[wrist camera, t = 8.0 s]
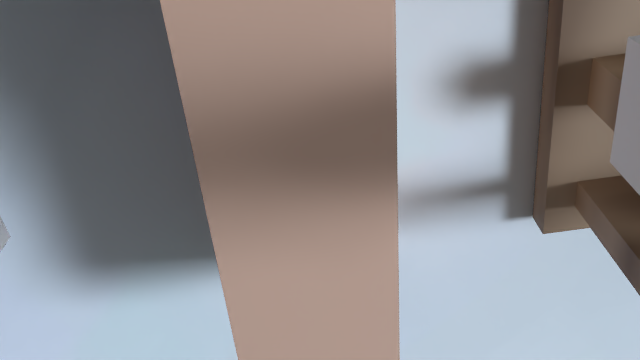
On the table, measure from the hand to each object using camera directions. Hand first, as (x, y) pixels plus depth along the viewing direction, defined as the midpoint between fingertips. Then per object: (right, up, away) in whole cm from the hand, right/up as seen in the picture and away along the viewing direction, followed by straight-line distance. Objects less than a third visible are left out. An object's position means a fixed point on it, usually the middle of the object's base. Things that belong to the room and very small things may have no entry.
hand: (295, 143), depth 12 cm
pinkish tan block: (0, +4, +6) cm, 7 cm away
